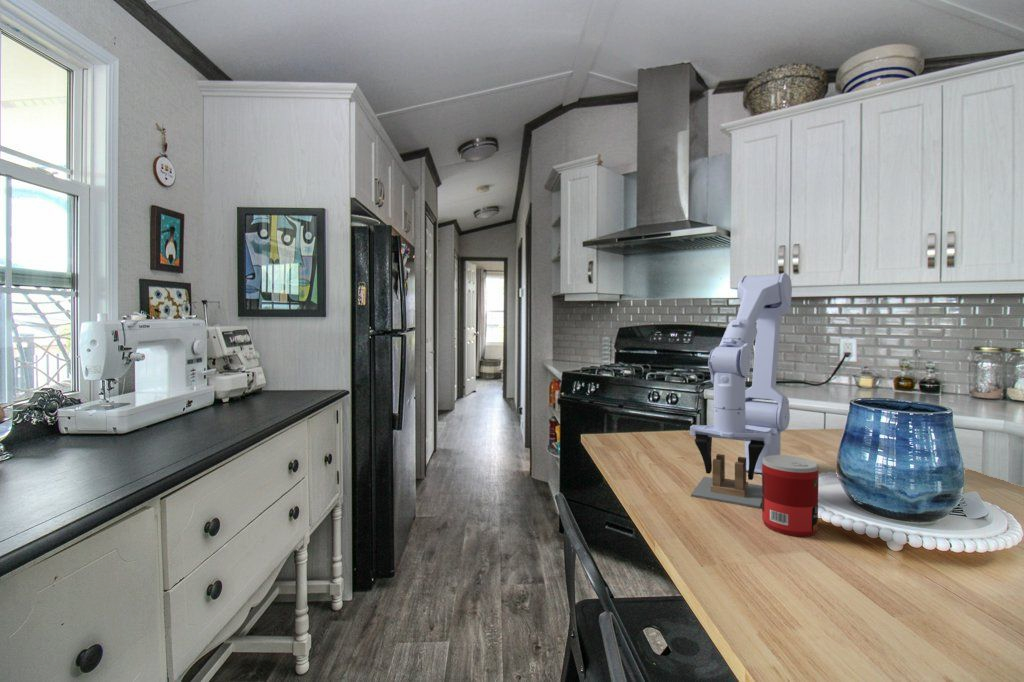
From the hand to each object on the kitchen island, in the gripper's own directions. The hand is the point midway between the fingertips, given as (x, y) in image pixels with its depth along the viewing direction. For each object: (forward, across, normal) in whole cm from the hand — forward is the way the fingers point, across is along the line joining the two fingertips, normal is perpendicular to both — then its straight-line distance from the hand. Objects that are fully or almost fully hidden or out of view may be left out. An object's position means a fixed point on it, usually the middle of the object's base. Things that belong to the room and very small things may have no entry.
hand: (729, 475), depth 95 cm
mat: (+3, 0, 0) cm, 3 cm away
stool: (+3, 0, 0) cm, 3 cm away
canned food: (+4, +11, -12) cm, 17 cm away
